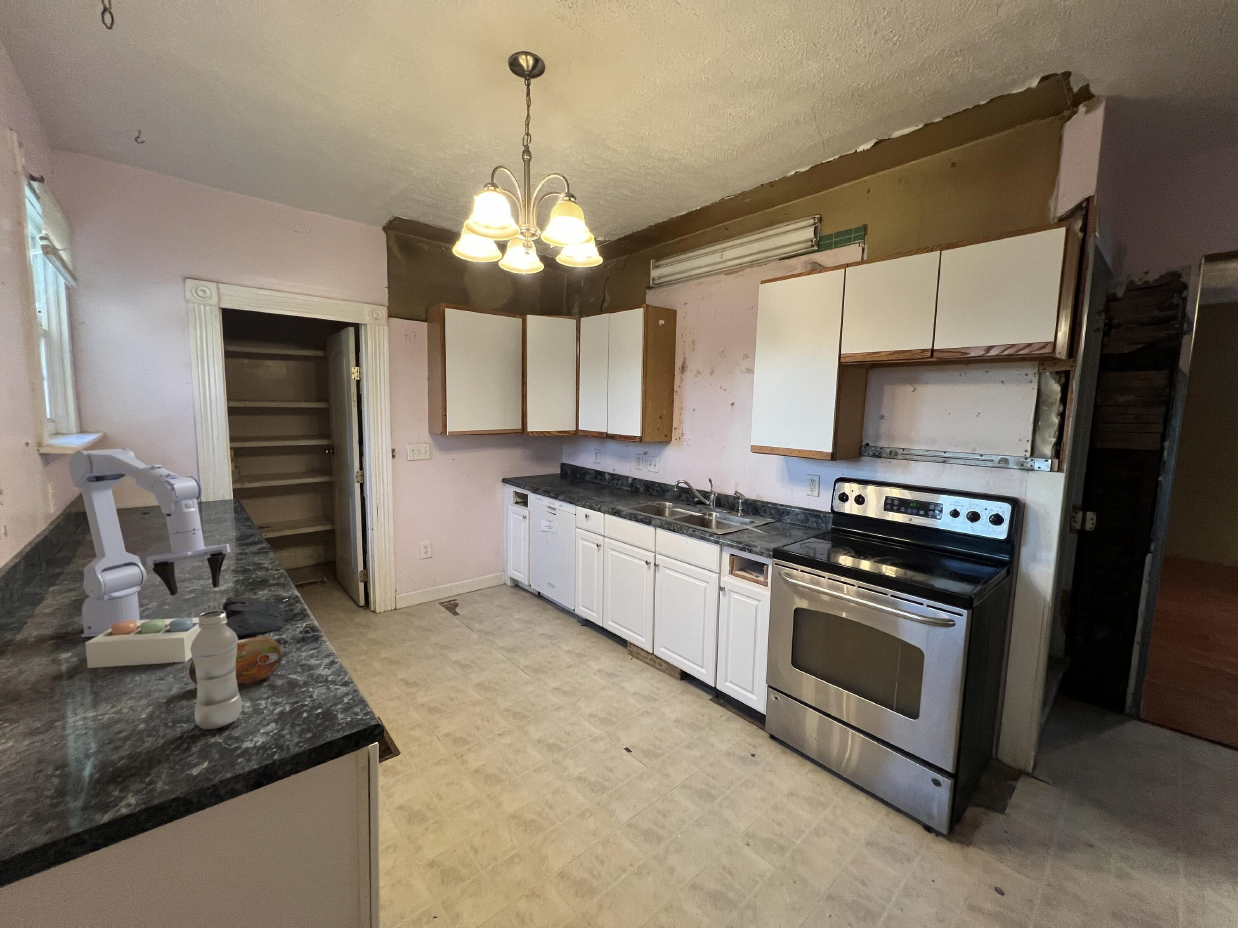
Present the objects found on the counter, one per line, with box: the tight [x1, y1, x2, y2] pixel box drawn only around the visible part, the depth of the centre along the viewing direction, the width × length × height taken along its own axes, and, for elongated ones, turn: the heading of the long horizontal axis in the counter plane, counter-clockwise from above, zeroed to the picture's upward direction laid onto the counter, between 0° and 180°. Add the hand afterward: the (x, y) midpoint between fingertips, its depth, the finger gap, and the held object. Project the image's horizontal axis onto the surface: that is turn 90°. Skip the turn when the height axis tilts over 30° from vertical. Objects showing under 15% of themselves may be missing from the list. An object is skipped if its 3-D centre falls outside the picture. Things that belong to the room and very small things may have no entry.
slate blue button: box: [169, 617, 193, 632], centre depth 117 cm, size 4×4×3 cm
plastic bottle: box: [191, 609, 243, 730], centre depth 91 cm, size 6×7×20 cm
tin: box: [188, 636, 283, 686], centre depth 105 cm, size 15×3×8 cm, turn 117°
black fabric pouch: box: [222, 596, 285, 638], centre depth 133 cm, size 15×22×5 cm
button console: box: [84, 617, 201, 669], centre depth 116 cm, size 18×11×6 cm, turn 101°
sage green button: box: [140, 618, 165, 634], centre depth 116 cm, size 4×4×3 cm
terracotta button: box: [111, 620, 137, 636], centre depth 115 cm, size 4×4×3 cm
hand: (195, 590), depth 118 cm, fingers open, 7 cm apart
